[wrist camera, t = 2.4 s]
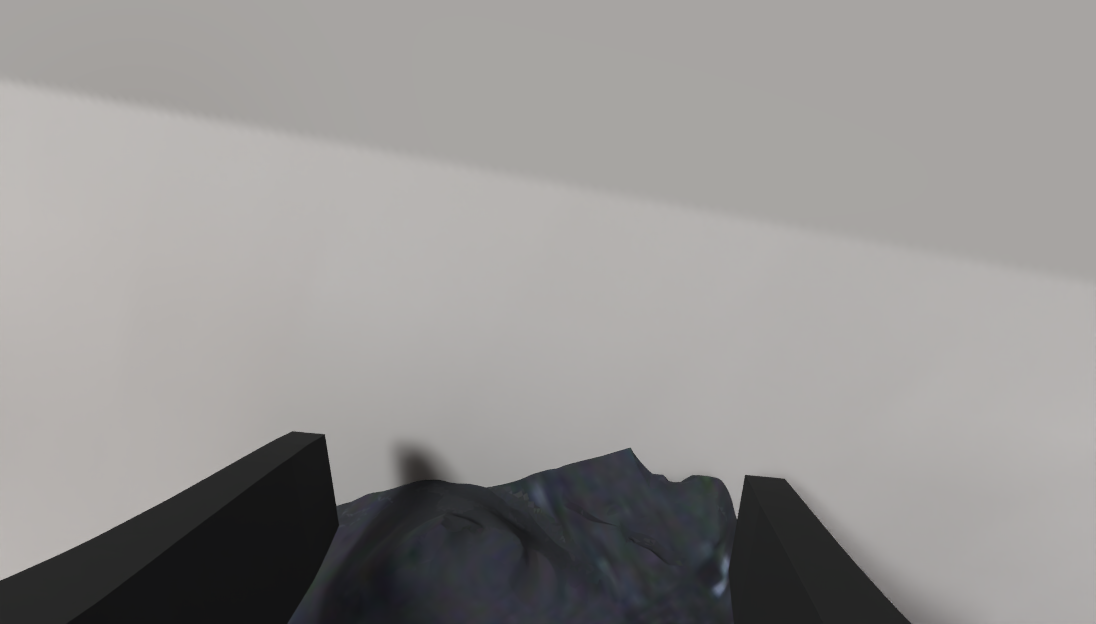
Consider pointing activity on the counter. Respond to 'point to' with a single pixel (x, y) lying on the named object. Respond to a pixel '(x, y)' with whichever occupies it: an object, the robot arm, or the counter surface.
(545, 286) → the counter surface
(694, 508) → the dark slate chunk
